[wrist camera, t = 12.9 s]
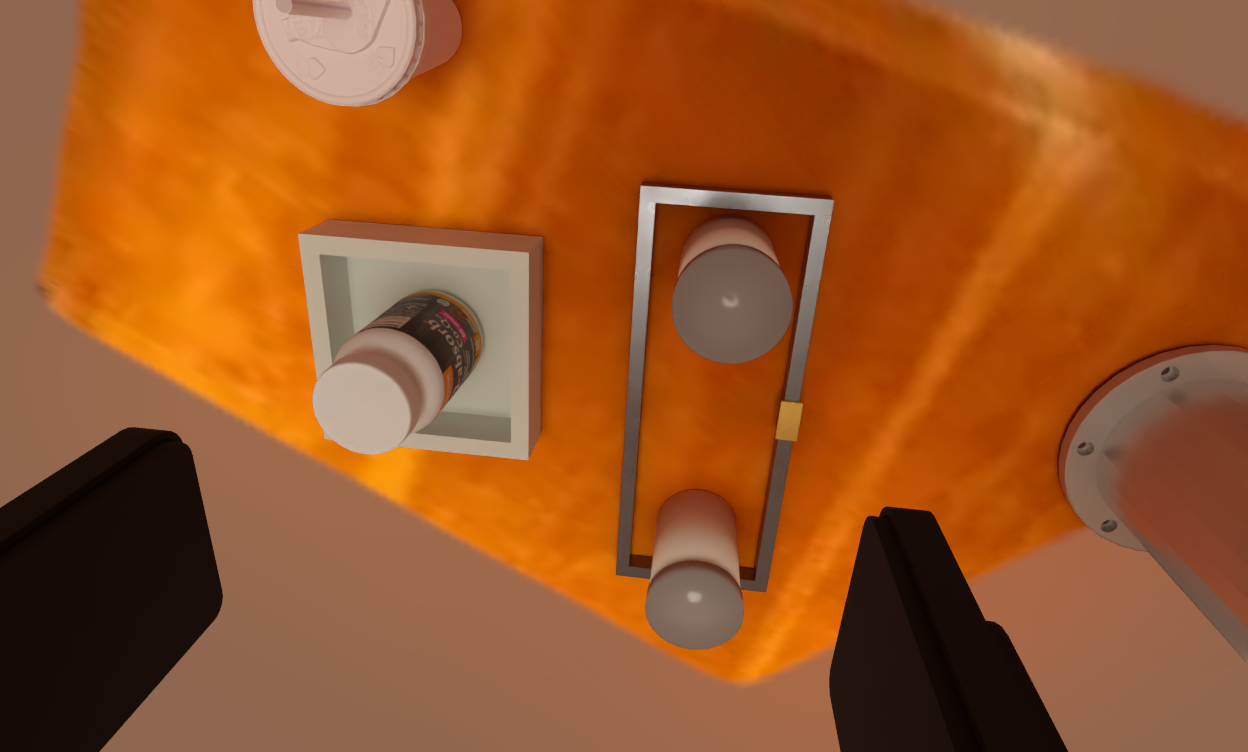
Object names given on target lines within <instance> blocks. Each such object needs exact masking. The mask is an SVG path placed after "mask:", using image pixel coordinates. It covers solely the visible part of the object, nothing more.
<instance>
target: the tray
mask: <svg viewBox="0 0 1248 752" xmlns="http://www.w3.org/2000/svg"><path fill="white" fill-rule="evenodd" d="M298 238H299V245H300V253H301V261H302V268H303V276H304V284H305V291H306V299H307V307H308V314H309V322H310V330H311V337H312V345H313V353H314V360H315V368H316V376H317V380H318V378H319V377H320V376H321V374H322V373H323V372H324V371H325V370H326V369H328V368H329V367H330V366H331V365H332V364H333V362H334V359H335V357H336V355H337V353H338V351H339V350H340V348H341V347H342V346H343V344H344V343H345V342H346V341H347V340H348V339H349V338H350V337H351V336H353V335H355V334H356V333H357V332H359V331H360V330H361V329H363V328H364V327H365V326H367V325H368V324H369V323H371V322H372V321H373V320H375V319H376V318H377V317H379V316H380V315H381V314H382V313H384V312H385V311H386V310H388V309H389V308H390V307H391V306H393V305H394V304H395V303H396V302H398V301H400V300H401V299H402V298H404V297H406V296H408V295H410V294H412V293H415V292H419V291H439V292H443V293H446V294H449V295H451V296H453V297H455V298H457V299H458V300H460V301H461V302H462V303H463V304H465V305H466V306H467V307H468V308H469V309H470V310H471V311H472V313H473V314H474V316H475V317H476V319H477V321H478V323H479V325H480V328H481V331H482V336H483V350H482V354H481V357H480V360H479V362H478V364H477V366H476V367H475V369H474V371H473V372H472V373H471V374H470V376H469V377H468V378H467V379H466V380H465V382H464V383H463V384H462V385H461V387H460V388H459V389H458V390H457V392H456V393H455V394H454V396H453V397H452V398H451V399H450V400H449V401H448V403H447V404H446V405H445V407H444V408H443V409H442V410H441V411H440V413H439V414H438V415H437V417H436V418H435V419H434V420H433V421H432V422H431V423H430V424H429V425H427V426H426V427H424V428H423V429H421V430H419V431H417V432H415V433H412V434H409V436H408V437H407V438H406V439H405V440H404V441H403V442H402V443H401V444H400V445H398V446H397V447H406V448H416V449H426V450H435V451H445V452H454V453H464V454H473V455H483V456H492V457H502V458H512V459H521V460H529V458H530V456H531V453H532V451H533V449H534V447H535V444H536V442H537V440H538V438H539V435H540V433H541V421H542V322H543V237H540V236H528V235H516V234H503V233H491V232H479V231H466V230H454V229H442V228H429V227H417V226H405V225H392V224H380V223H368V222H355V221H343V220H331V219H330V220H328V221H326V222H324V223H321V224H319V225H317V226H314V227H312V228H310V229H307V230H305V231H303V232H301V233H298ZM324 437H325V439H330V440H333V439H331V438H330V437H329V436H328V435H327V434H326V432H325V431H324Z"/></svg>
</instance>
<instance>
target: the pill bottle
mask: <svg viewBox="0 0 1248 752" xmlns="http://www.w3.org/2000/svg"><path fill="white" fill-rule="evenodd" d="M482 350H483V336H482V331H481V328H480V325H479V323H478V321H477V319H476V317H475V316H474V314H473V313H472V311H471V310H470V309H469V308H468V307H467V306H466V305H465V304H463V303H462V302H461V301H460V300H458V299H457V298H455V297H453V296H451V295H449V294H446V293H443V292H439V291H419V292H415V293H412V294H410V295H408V296H406V297H404V298H402V299H401V300H400V301H398V302H396V303H395V304H394V305H393V306H391V307H390V308H389V309H388V310H386V311H385V312H384V313H382V314H381V315H380V316H379V317H377V318H376V319H375V320H373V321H372V322H371V323H369V324H368V325H367V326H365V327H364V328H363V329H361V330H360V331H359V332H357V333H356V334H355V335H353V336H351V337H350V338H349V339H348V340H347V341H346V342H345V343H344V344H343V346H342V347H341V348H340V350H339V351H338V353H337V355H336V357H335V359H334V362H333V364H332V365H331V366H330V367H329V368H328V369H326V370H325V371H324V372H323V373H322V374H321V376H320V377H319V378H318V380H317V382H316V384H315V386H314V390H313V396H312V403H313V409H314V413H315V416H316V418H317V420H318V422H319V424H320V426H321V427H322V429H323V430H324V431H325V432H326V434H327V435H328V436H329V437H330V438H331V439H333V440H334V441H335V442H336V443H338V444H339V445H341V446H343V447H344V448H346V449H349V450H351V451H354V452H357V453H361V454H381V453H385V452H388V451H390V450H392V449H394V448H396V447H397V446H398V445H400V444H401V443H402V442H403V441H404V440H405V439H406V438H407V437H408V436H409V434H412V433H415V432H417V431H419V430H421V429H423V428H424V427H426V426H427V425H429V424H430V423H431V422H432V421H433V420H434V419H435V418H436V417H437V415H438V414H439V413H440V411H441V410H442V409H443V408H444V407H445V405H446V404H447V403H448V401H449V400H450V399H451V398H452V397H453V396H454V394H455V393H456V392H457V390H458V389H459V388H460V387H461V385H462V384H463V383H464V382H465V380H466V379H467V378H468V377H469V376H470V374H471V373H472V372H473V371H474V369H475V367H476V366H477V364H478V362H479V360H480V357H481V354H482Z"/></svg>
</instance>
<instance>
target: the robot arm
mask: <svg viewBox="0 0 1248 752" xmlns="http://www.w3.org/2000/svg"><path fill="white" fill-rule="evenodd" d="M1058 466H1059V481H1060V484H1061V487H1062V490H1063V493H1064V496H1065V498H1066V499H1067V501H1068V503H1069V504H1070V506H1071V507H1072V509H1073V510H1074V512H1075V513H1076V514H1077V515H1078V516H1079V518H1080V519H1081V520H1082V521H1083V522H1084V523H1085V525H1086V526H1087V527H1089V528H1090V529H1091V530H1092V531H1094V532H1095V533H1096V534H1097V535H1099V536H1101V537H1102V538H1105V539H1107V540H1109V541H1111V542H1113V543H1115V544H1117V545H1120V546H1123V547H1127V548H1131V549H1134V550H1138V551H1147V552H1149V553H1150V555H1151V556H1152V557H1153V558H1154V559H1155V560H1156V561H1157V563H1158V564H1159V565H1160V566H1161V567H1162V568H1163V569H1164V570H1165V572H1166V573H1167V574H1168V575H1169V576H1170V577H1171V578H1172V579H1173V580H1174V582H1175V583H1176V584H1177V585H1178V586H1179V587H1180V588H1181V590H1182V591H1183V592H1184V593H1185V594H1186V595H1187V596H1188V597H1189V599H1190V600H1191V601H1192V602H1193V603H1194V604H1195V605H1196V606H1197V608H1198V609H1199V610H1200V611H1201V612H1202V613H1203V614H1204V616H1206V618H1207V619H1208V620H1209V621H1210V622H1211V623H1212V625H1213V626H1214V627H1215V628H1216V629H1217V630H1218V631H1219V632H1220V634H1222V636H1223V637H1224V638H1225V639H1226V640H1227V641H1228V643H1230V645H1231V646H1232V647H1233V648H1234V649H1235V650H1236V651H1237V652H1238V654H1239V655H1240V656H1241V657H1242V658H1243V660H1245V662H1246V663H1247V664H1248V349H1244V348H1241V347H1234V346H1223V345H1204V346H1192V347H1185V348H1181V349H1177V350H1172V351H1168V352H1164V353H1161V354H1158V355H1156V356H1153V357H1151V358H1148V359H1146V360H1143V361H1141V362H1138V363H1136V364H1135V365H1133V366H1131V367H1129V368H1128V369H1126V370H1124V371H1122V372H1121V373H1119V374H1117V375H1116V376H1114V377H1113V378H1112V379H1111V380H1109V381H1108V382H1107V383H1105V384H1104V385H1103V386H1102V387H1100V388H1099V389H1098V390H1097V391H1096V392H1095V393H1094V394H1093V395H1092V396H1091V397H1090V398H1089V399H1088V400H1087V401H1086V402H1085V404H1084V405H1083V406H1082V407H1081V408H1080V410H1079V411H1078V413H1077V414H1076V416H1075V417H1074V419H1073V420H1072V422H1071V423H1070V425H1069V427H1068V429H1067V432H1066V434H1065V437H1064V439H1063V442H1062V444H1061V450H1060V456H1059V461H1058ZM222 599H223V594H222V588H221V583H220V579H219V574H218V570H217V565H216V560H215V556H214V551H213V546H212V542H211V538H210V533H209V528H208V524H207V519H206V515H205V510H204V506H203V501H202V496H201V492H200V487H199V483H198V478H197V473H196V469H195V464H194V460H193V455H192V452H191V450H190V448H189V446H188V445H186V444H184V443H183V442H182V440H181V438H180V437H179V436H178V435H177V434H176V433H174V432H172V431H165V430H155V429H146V428H136V427H131V428H127V429H124V430H121V431H120V432H118V433H117V434H115V435H114V436H112V437H110V438H109V439H107V440H106V441H104V442H103V443H101V444H99V445H98V446H96V447H95V448H93V449H92V450H90V451H88V452H87V453H85V454H84V455H82V456H81V457H79V458H78V459H76V460H74V461H73V462H71V463H70V464H68V465H67V466H65V467H64V468H62V469H60V470H59V471H57V472H56V473H54V474H53V475H51V476H49V477H48V478H46V479H45V480H43V481H42V482H40V483H38V484H37V485H35V486H34V487H32V488H31V489H29V490H28V491H26V492H24V493H23V494H21V495H20V496H18V497H17V498H15V499H13V500H12V501H10V502H9V503H7V504H6V505H4V506H2V507H1V508H0V752H100V750H101V749H102V748H103V747H104V746H105V745H106V743H107V742H108V741H109V740H110V739H111V738H112V737H113V736H114V734H115V733H116V732H117V731H118V730H119V729H120V727H121V726H122V725H123V724H124V723H125V722H126V720H127V719H128V718H129V717H130V716H131V715H132V714H133V713H134V711H135V710H136V709H137V708H138V707H139V706H140V705H141V703H142V702H143V701H144V700H145V699H146V698H147V697H148V695H149V694H150V693H151V692H152V691H153V690H154V688H155V687H156V686H157V685H158V684H159V683H160V682H161V681H162V679H163V678H164V677H165V676H166V675H167V673H169V671H170V670H171V669H172V668H173V667H174V666H175V664H176V663H177V662H178V661H179V660H180V659H181V658H182V657H183V655H184V654H185V653H186V652H187V651H188V650H189V649H190V647H191V646H192V645H193V644H194V643H195V642H196V641H197V639H198V638H199V637H200V636H201V635H202V634H203V633H204V631H205V630H206V629H207V628H208V627H209V626H210V625H211V623H212V622H213V621H214V620H215V618H216V617H217V615H218V613H219V611H220V608H221V605H222ZM829 681H830V682H829V683H830V684H829V687H830V698H831V703H832V709H833V714H834V719H835V724H836V729H837V735H838V740H839V745H840V751H841V752H1068V750H1067V748H1066V747H1065V745H1064V743H1063V741H1062V739H1061V737H1060V735H1059V733H1058V731H1057V729H1056V727H1055V725H1054V723H1053V721H1052V720H1051V718H1050V716H1049V714H1048V712H1047V710H1046V708H1045V706H1044V704H1043V702H1042V700H1041V698H1040V696H1039V694H1038V692H1037V691H1036V689H1035V687H1034V685H1033V683H1032V681H1031V679H1030V677H1029V675H1028V673H1027V671H1026V669H1025V667H1024V665H1023V663H1022V662H1021V660H1020V658H1019V656H1018V654H1017V652H1016V650H1015V648H1014V646H1013V644H1012V642H1011V640H1010V639H1009V636H1008V635H1007V634H1006V632H1005V631H1004V629H1003V628H1002V626H1000V625H998V624H997V623H995V622H991V621H986V620H985V619H984V616H983V615H982V612H981V610H980V608H979V606H978V604H977V602H976V600H975V598H974V596H973V594H972V592H971V590H970V588H969V586H968V584H967V582H966V580H965V578H964V576H963V574H962V572H961V570H960V568H959V565H958V563H957V561H956V559H955V557H954V555H953V553H952V551H951V549H950V547H949V545H948V543H947V541H946V539H945V537H944V535H943V533H942V531H941V529H940V527H939V525H938V523H937V521H936V519H935V517H934V515H933V514H932V513H931V512H929V511H924V510H914V509H905V508H895V507H885V508H883V509H882V511H881V513H880V516H879V517H875V516H868V517H867V518H866V520H865V523H864V526H863V530H862V535H861V539H860V543H859V548H858V552H857V556H856V560H855V565H854V569H853V573H852V578H851V582H850V586H849V591H848V595H847V599H846V603H845V608H844V612H843V616H842V621H841V625H840V629H839V634H838V638H837V642H836V646H835V651H834V655H833V659H832V664H831V669H830V678H829Z"/></svg>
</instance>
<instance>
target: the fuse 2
mask: <svg viewBox="0 0 1248 752" xmlns="http://www.w3.org/2000/svg"><path fill="white" fill-rule="evenodd" d="M645 611H646V617H647V620H648V622H649V624H650V626H651V628H652V629H653V630H654V631H655V632H656V634H657V635H659V636H660V637H661V638H662V639H664V640H665V641H667V642H669V643H671V644H673V645H676V646H678V647H682V648H687V649H708V648H712V647H716V646H718V645H721V644H723V643H725V642H726V641H728V640H729V639H731V638H732V637H733V636H734V635H735V634H736V633H737V632H738V630H739V628H740V627H741V624H742V621H743V616H744V609H743V596H742V591H741V588H740V575H739V558H738V542H737V525H736V517H735V514H734V511H733V510H732V508H731V506H730V505H729V504H728V503H727V502H726V501H725V500H724V499H723V498H721V497H720V496H718V495H716V494H714V493H711V492H708V491H704V490H687V491H682V492H679V493H677V494H675V495H673V496H671V497H670V498H669V499H667V500H666V501H665V502H664V504H663V505H662V506H661V508H660V510H659V512H658V516H657V523H656V532H655V542H654V551H653V560H652V569H651V578H650V584H649V587H648V590H647V597H646V606H645Z"/></svg>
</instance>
